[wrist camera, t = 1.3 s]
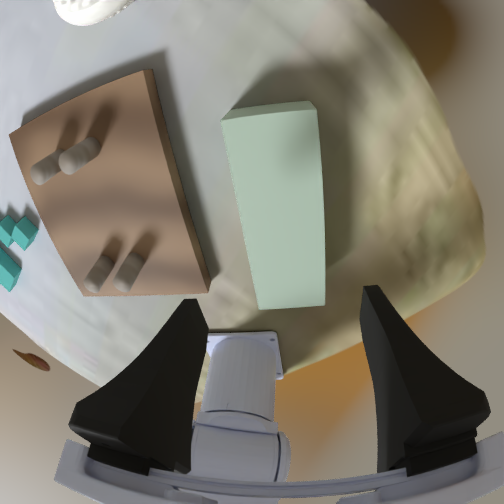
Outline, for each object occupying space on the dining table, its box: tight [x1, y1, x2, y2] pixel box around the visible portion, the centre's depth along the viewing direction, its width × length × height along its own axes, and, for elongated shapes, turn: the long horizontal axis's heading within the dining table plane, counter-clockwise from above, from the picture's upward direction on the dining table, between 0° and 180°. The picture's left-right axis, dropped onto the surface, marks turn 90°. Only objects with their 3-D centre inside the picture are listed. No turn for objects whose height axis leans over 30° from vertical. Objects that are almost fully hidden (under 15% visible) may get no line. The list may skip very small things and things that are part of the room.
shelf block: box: [220, 101, 325, 310], centre depth 20 cm, size 14×5×4 cm, turn 9°
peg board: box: [9, 69, 211, 296], centre depth 20 cm, size 18×14×4 cm
